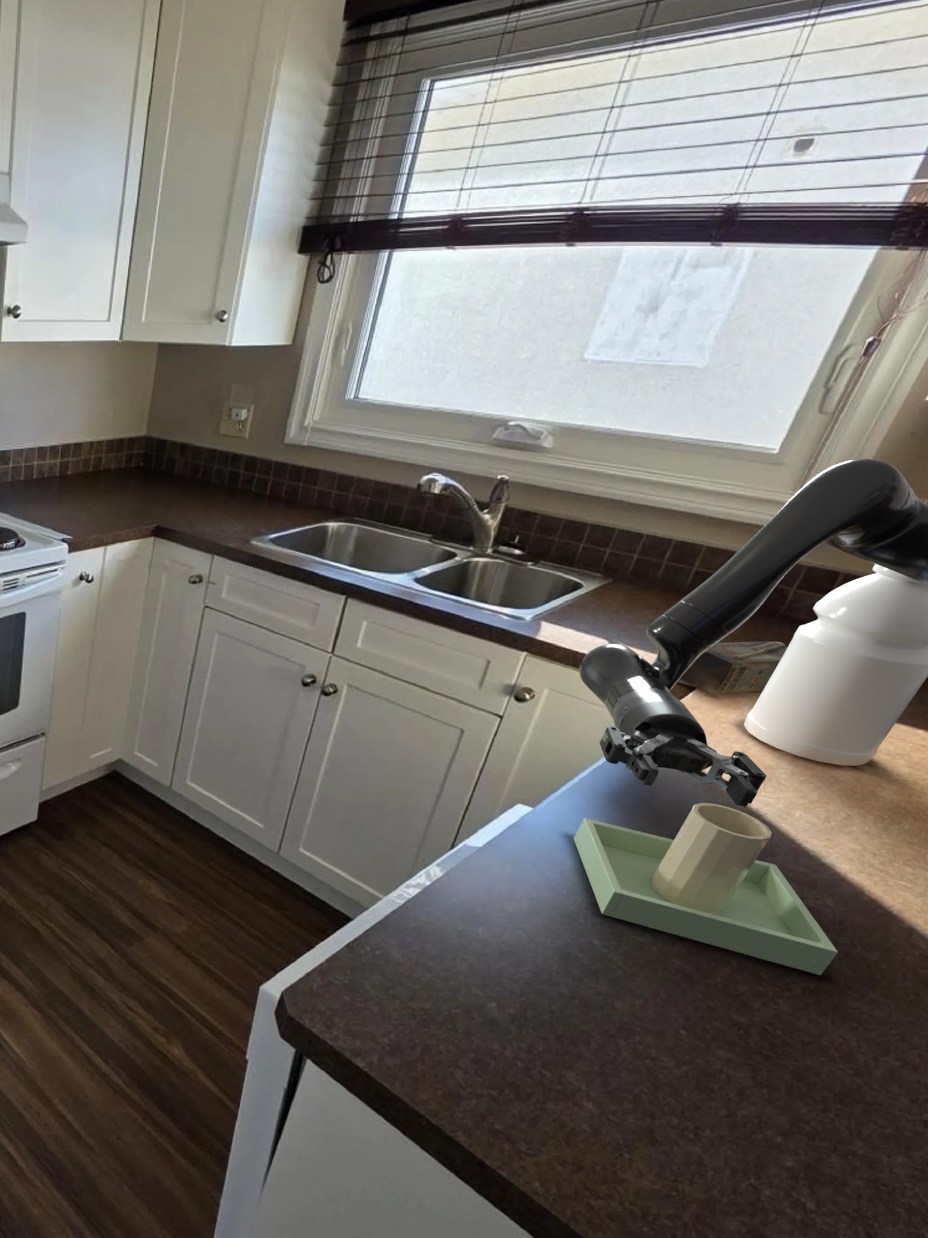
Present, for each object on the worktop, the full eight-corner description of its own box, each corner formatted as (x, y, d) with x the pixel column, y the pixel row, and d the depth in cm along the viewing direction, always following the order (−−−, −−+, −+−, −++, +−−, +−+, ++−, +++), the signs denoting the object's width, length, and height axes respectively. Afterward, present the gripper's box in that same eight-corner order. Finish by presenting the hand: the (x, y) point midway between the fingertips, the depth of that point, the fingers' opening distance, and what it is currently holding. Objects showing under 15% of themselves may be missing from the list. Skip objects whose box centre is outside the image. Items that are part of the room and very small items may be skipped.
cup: (711, 887, 88) (757, 813, 83) (731, 922, 83) (782, 845, 78) (643, 869, 90) (684, 796, 85) (659, 902, 85) (704, 827, 81)
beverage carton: (802, 690, 136) (823, 655, 133) (714, 697, 132) (733, 661, 129) (751, 669, 143) (770, 636, 140) (666, 676, 139) (683, 641, 136)
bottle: (730, 711, 128) (826, 542, 115) (847, 735, 122) (961, 560, 109) (757, 749, 117) (866, 567, 104) (887, 778, 111) (1019, 589, 98)
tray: (761, 886, 89) (775, 864, 88) (820, 975, 77) (838, 952, 76) (573, 838, 96) (583, 817, 94) (601, 914, 84) (614, 891, 83)
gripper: (711, 765, 102) (761, 834, 89) (577, 737, 107) (607, 798, 94) (740, 714, 99) (797, 778, 86) (601, 688, 104) (634, 744, 91)
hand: (697, 788), depth 90 cm, fingers open, 8 cm apart
